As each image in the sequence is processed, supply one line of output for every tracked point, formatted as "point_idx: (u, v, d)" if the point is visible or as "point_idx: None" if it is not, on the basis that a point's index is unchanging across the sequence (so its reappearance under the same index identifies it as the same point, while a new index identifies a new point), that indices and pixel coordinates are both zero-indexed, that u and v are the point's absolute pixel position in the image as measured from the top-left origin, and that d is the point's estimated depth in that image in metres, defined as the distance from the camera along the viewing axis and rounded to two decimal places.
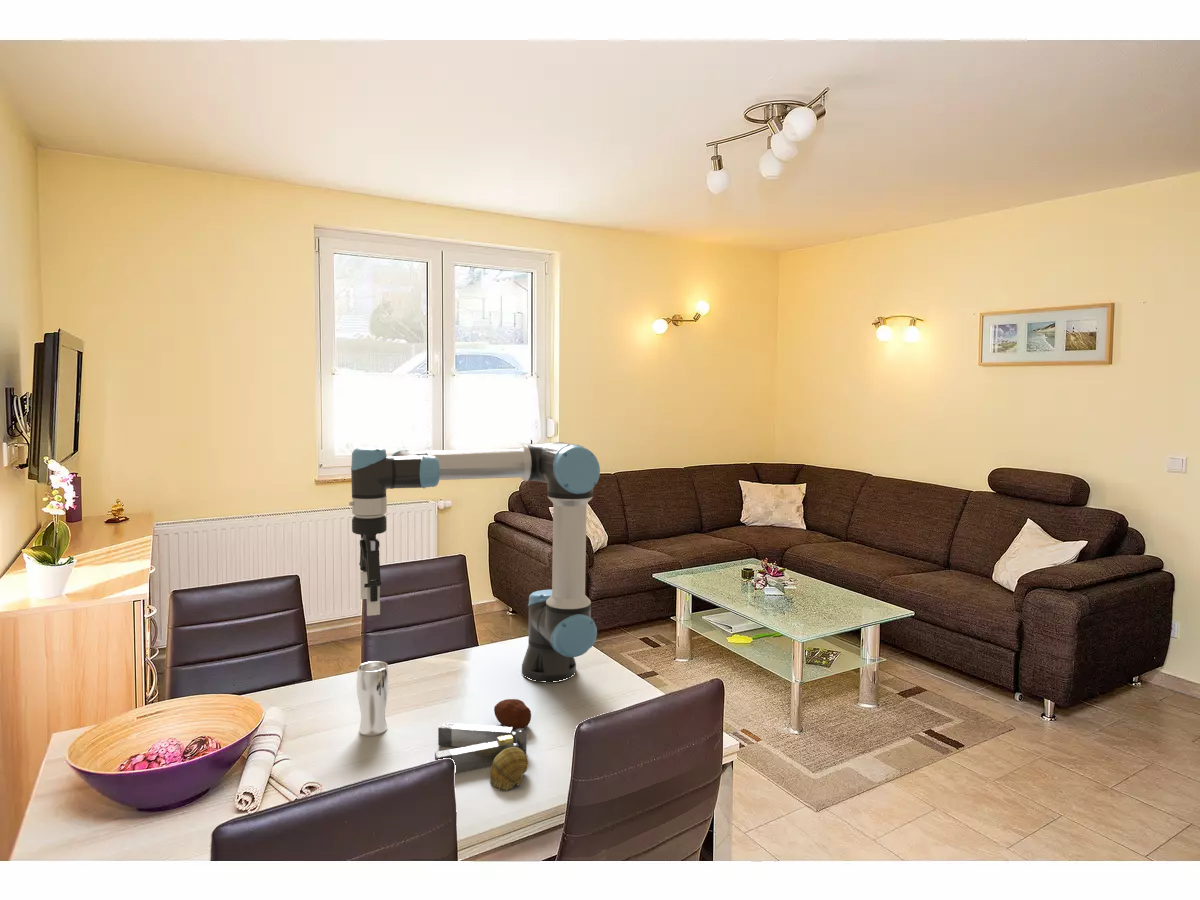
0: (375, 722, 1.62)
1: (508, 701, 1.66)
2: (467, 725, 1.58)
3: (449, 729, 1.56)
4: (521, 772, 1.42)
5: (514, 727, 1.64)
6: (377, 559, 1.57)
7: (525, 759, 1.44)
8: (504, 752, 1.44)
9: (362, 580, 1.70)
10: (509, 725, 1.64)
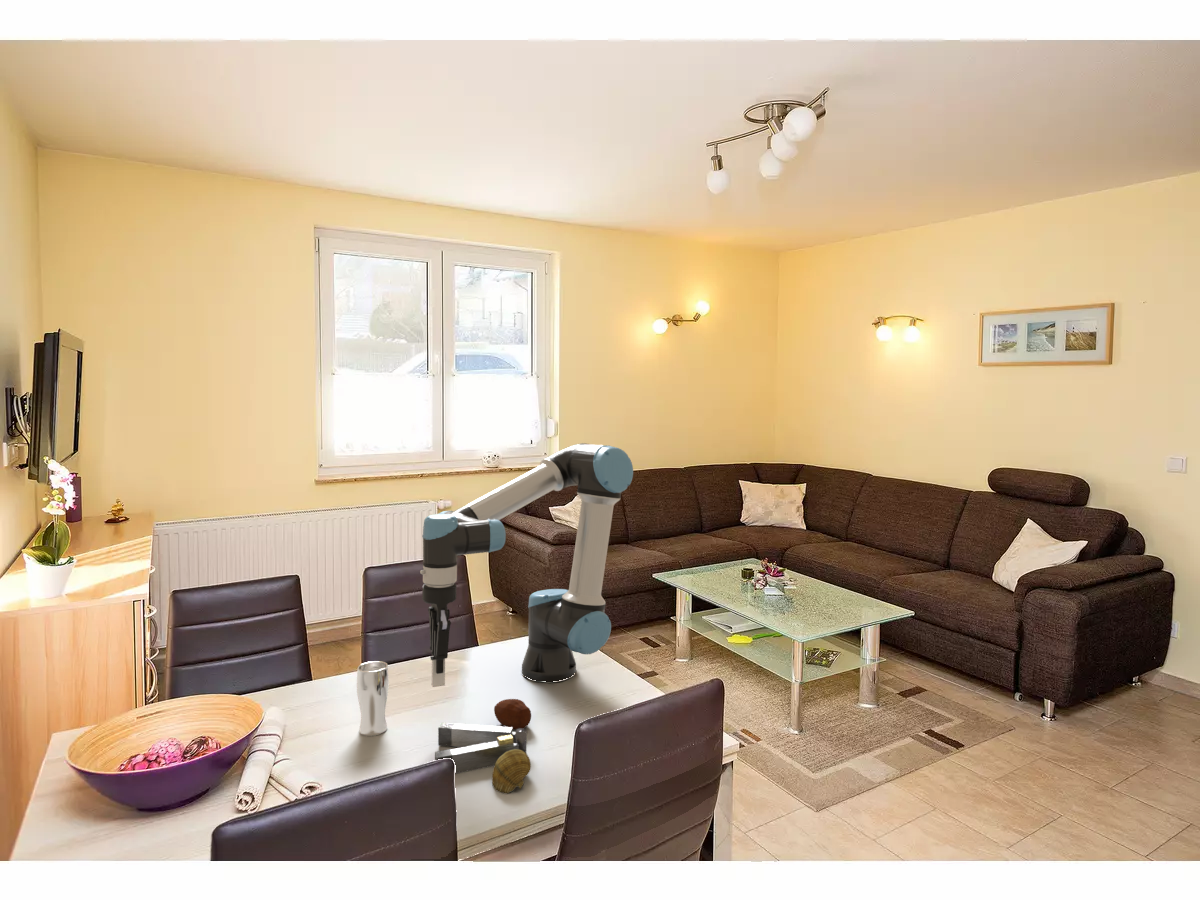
0: (375, 722, 1.62)
1: (508, 701, 1.66)
2: (467, 725, 1.58)
3: (449, 729, 1.56)
4: (523, 775, 1.41)
5: (514, 727, 1.64)
6: (447, 637, 1.58)
7: (527, 762, 1.43)
8: (506, 754, 1.43)
9: None
10: (509, 725, 1.64)
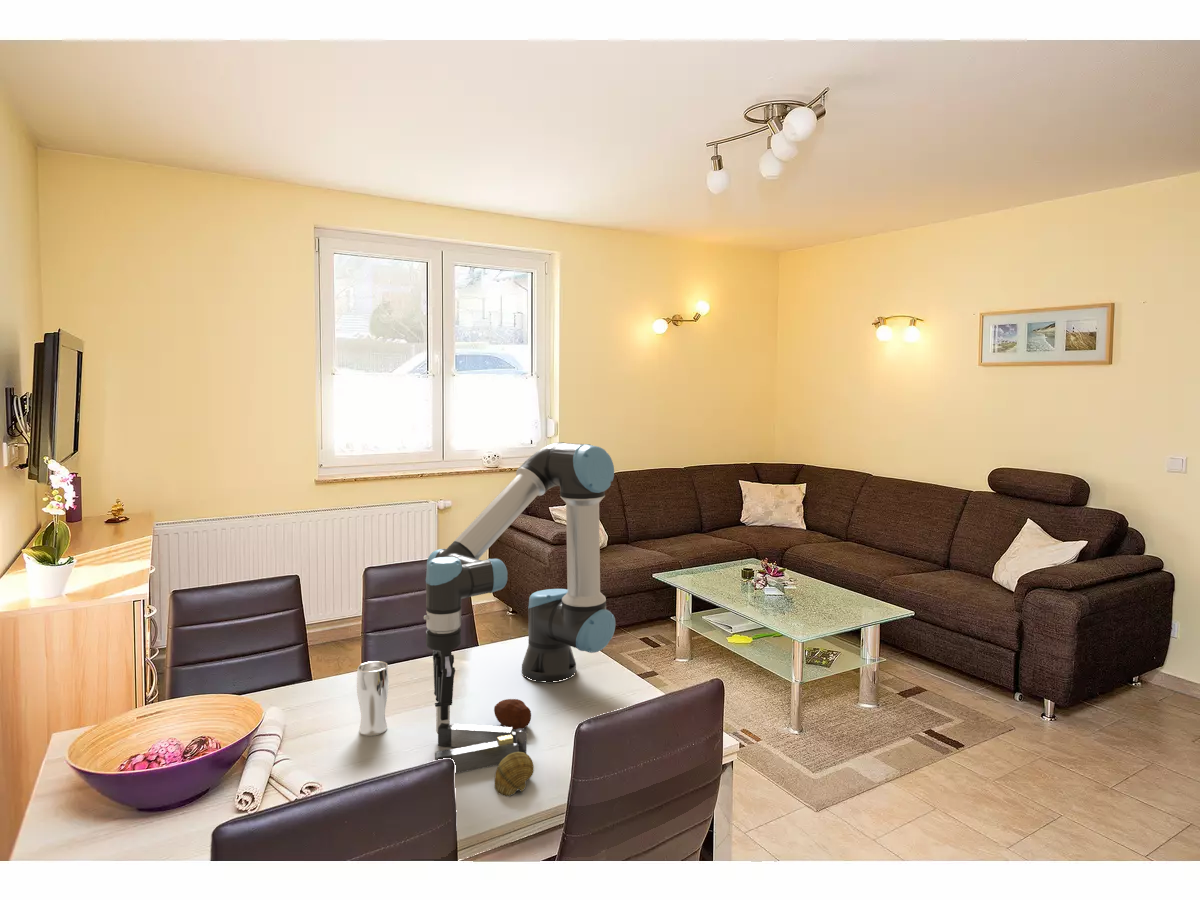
0: (375, 722, 1.62)
1: (508, 701, 1.66)
2: (467, 725, 1.57)
3: (449, 730, 1.56)
4: (525, 778, 1.40)
5: (514, 727, 1.64)
6: (451, 684, 1.54)
7: (530, 765, 1.42)
8: (509, 756, 1.42)
9: None
10: (509, 725, 1.64)
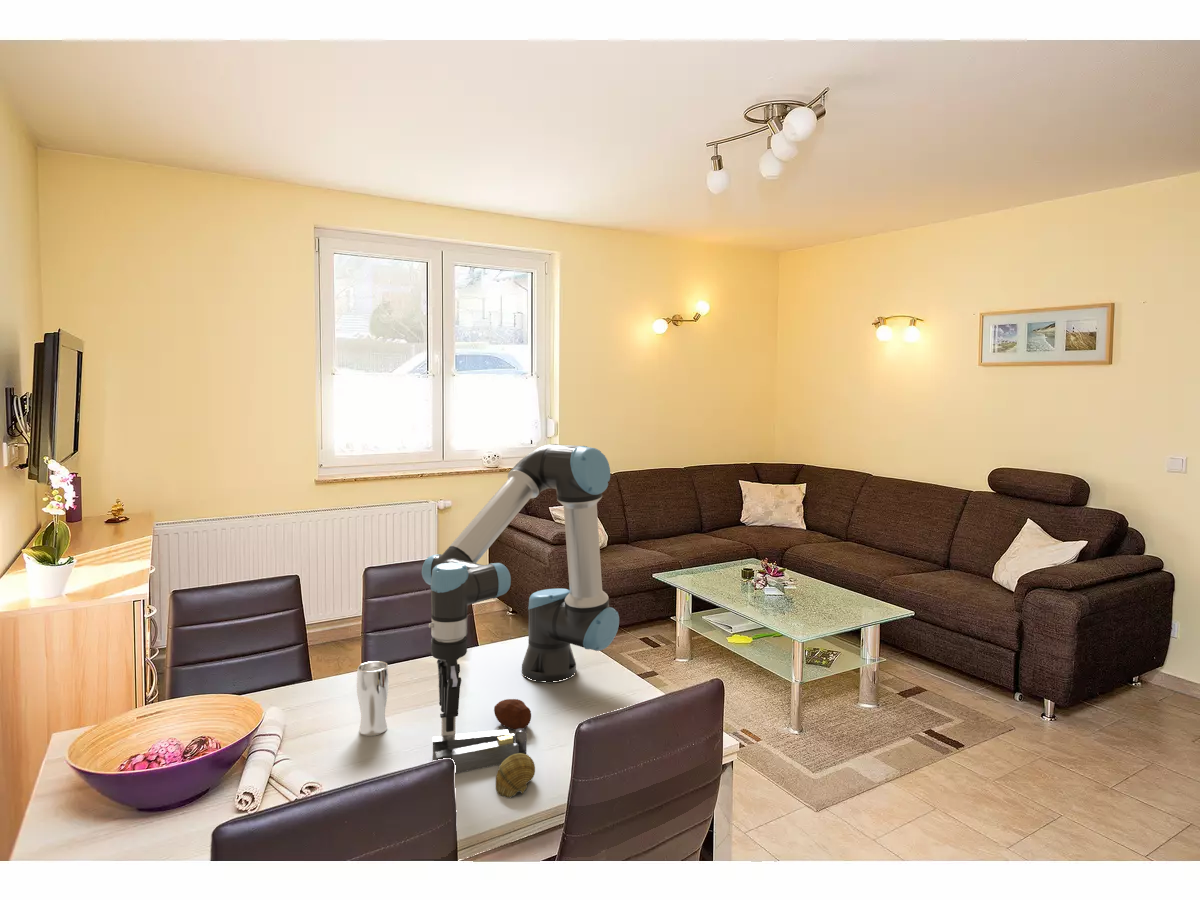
0: (375, 722, 1.62)
1: (508, 701, 1.66)
2: (461, 734, 1.53)
3: (445, 742, 1.51)
4: (526, 779, 1.40)
5: (514, 727, 1.64)
6: (457, 695, 1.49)
7: (531, 766, 1.41)
8: (510, 758, 1.42)
9: None
10: (509, 725, 1.64)
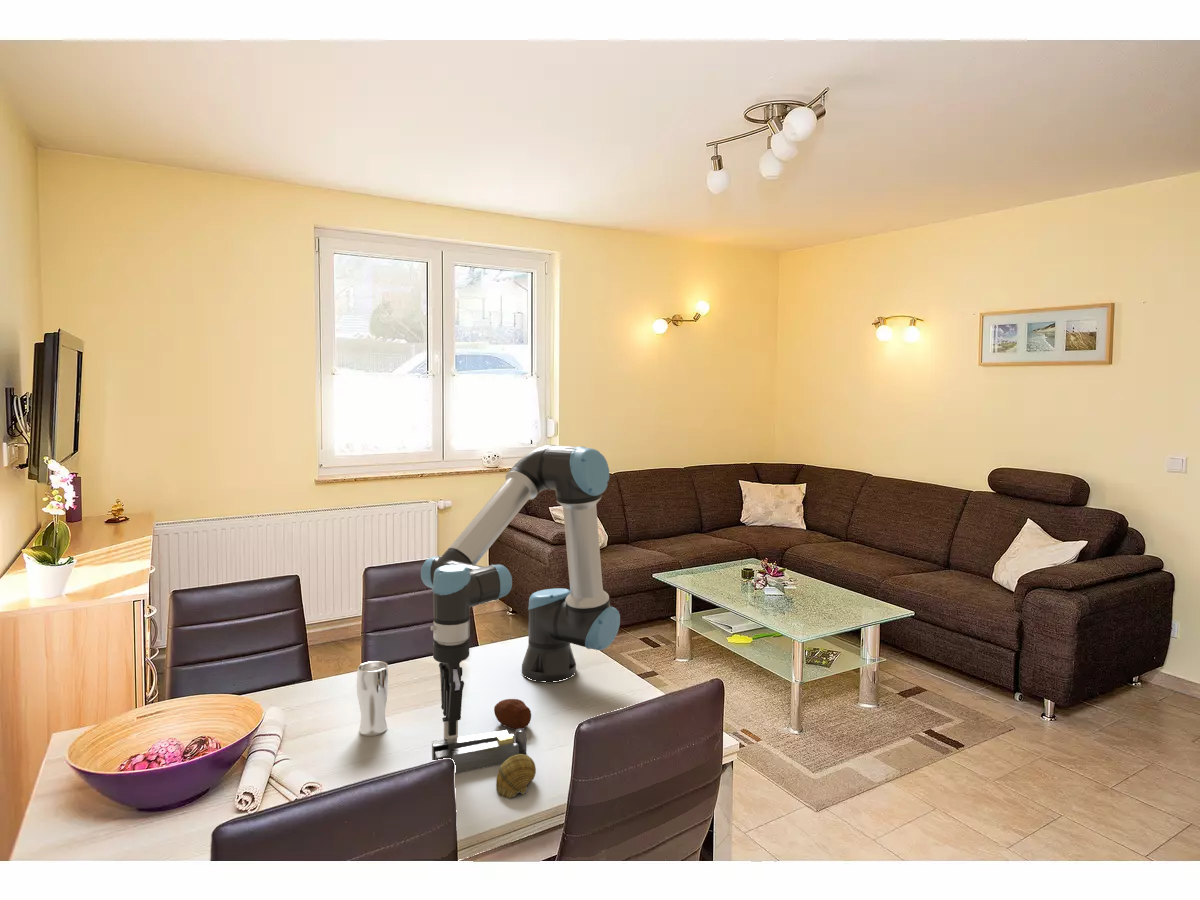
0: (375, 722, 1.62)
1: (508, 701, 1.66)
2: (460, 737, 1.52)
3: (446, 746, 1.49)
4: (526, 780, 1.39)
5: (514, 727, 1.64)
6: (460, 698, 1.48)
7: (532, 767, 1.41)
8: (511, 759, 1.41)
9: None
10: (509, 725, 1.64)
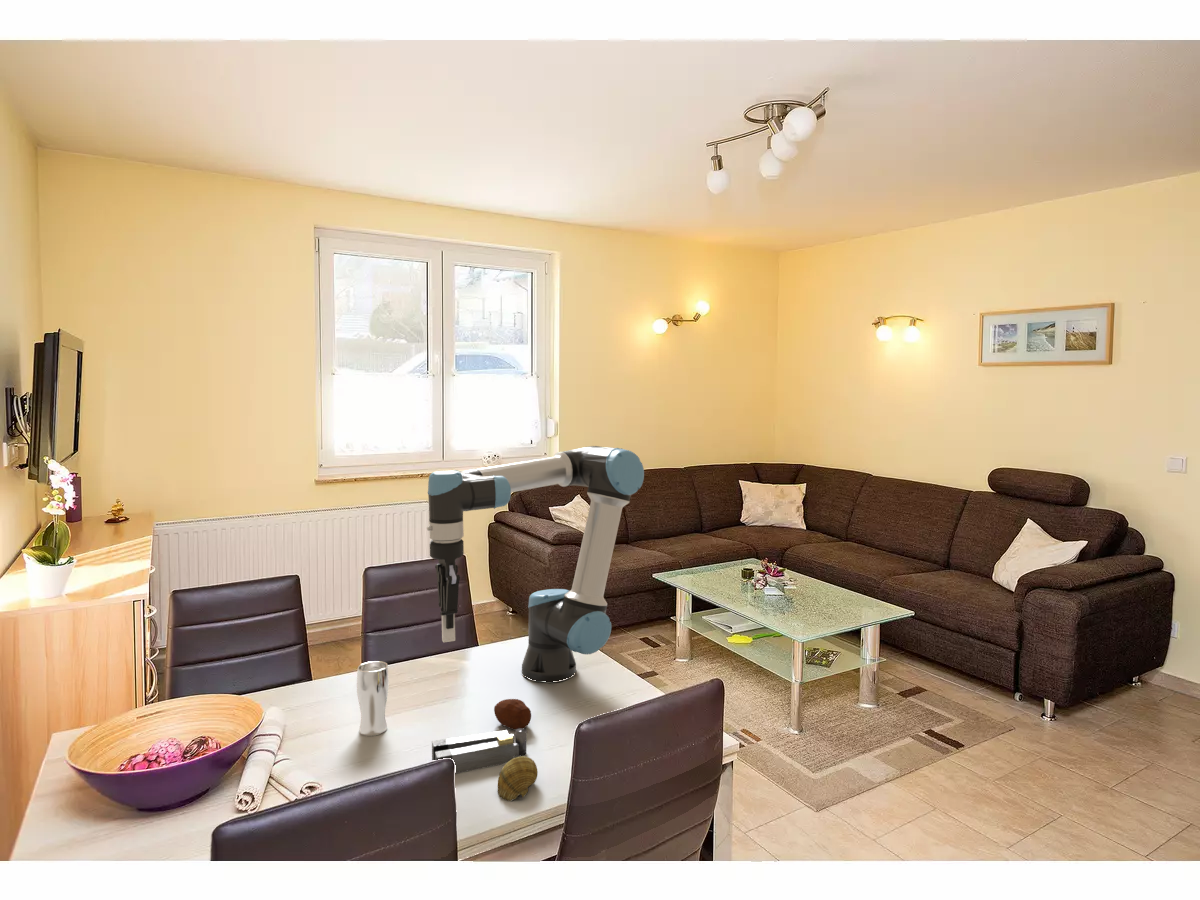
0: (375, 722, 1.62)
1: (508, 701, 1.66)
2: (460, 738, 1.52)
3: (446, 746, 1.49)
4: (527, 783, 1.38)
5: (514, 727, 1.64)
6: (456, 592, 1.59)
7: (533, 770, 1.40)
8: (512, 761, 1.41)
9: None
10: (509, 725, 1.64)
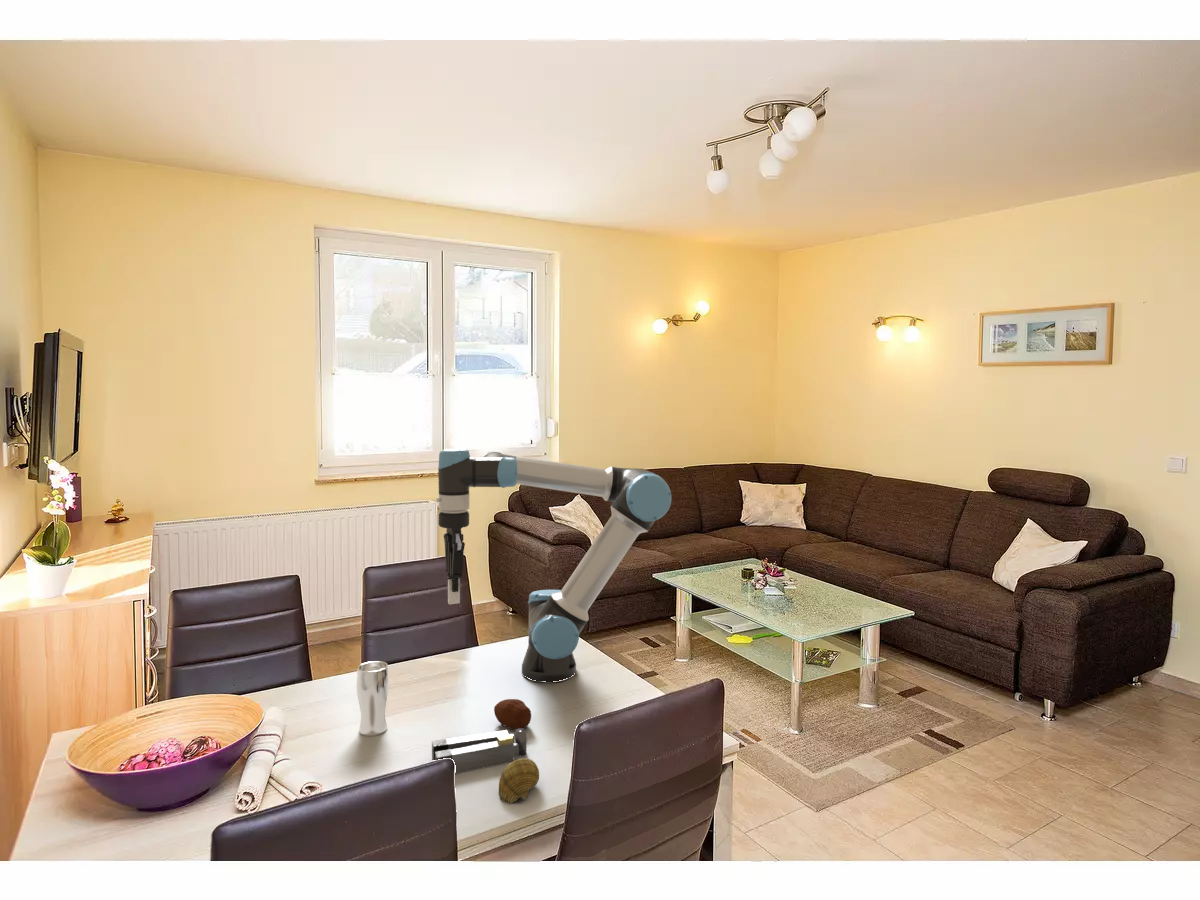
0: (375, 722, 1.62)
1: (508, 701, 1.66)
2: (460, 738, 1.52)
3: (446, 746, 1.49)
4: (528, 786, 1.37)
5: (514, 727, 1.64)
6: (461, 557, 1.75)
7: (535, 773, 1.39)
8: (514, 763, 1.40)
9: None
10: (509, 725, 1.64)
